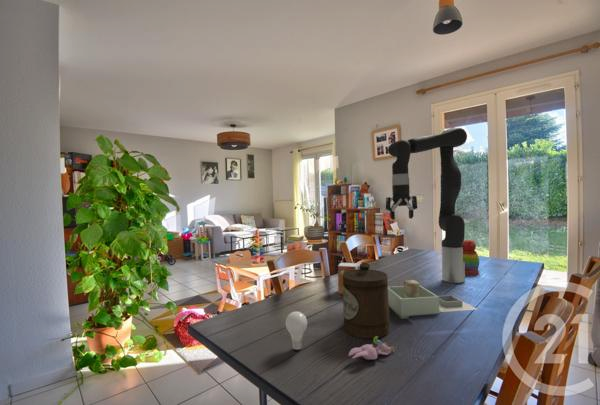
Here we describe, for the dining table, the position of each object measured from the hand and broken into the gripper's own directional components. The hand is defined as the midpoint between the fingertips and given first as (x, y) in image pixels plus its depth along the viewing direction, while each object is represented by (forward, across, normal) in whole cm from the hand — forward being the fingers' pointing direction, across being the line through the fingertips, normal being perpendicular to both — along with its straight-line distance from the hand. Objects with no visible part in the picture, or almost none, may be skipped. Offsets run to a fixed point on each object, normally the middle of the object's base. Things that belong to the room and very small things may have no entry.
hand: (401, 218), depth 136 cm
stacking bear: (+33, -45, -18) cm, 59 cm away
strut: (+32, +9, +25) cm, 41 cm away
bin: (+32, +9, +25) cm, 42 cm away
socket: (+33, -6, +24) cm, 41 cm away
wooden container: (+32, +31, +36) cm, 57 cm away
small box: (+32, +27, +1) cm, 42 cm away
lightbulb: (+32, +55, +46) cm, 78 cm away
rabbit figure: (+32, +35, +54) cm, 72 cm away
